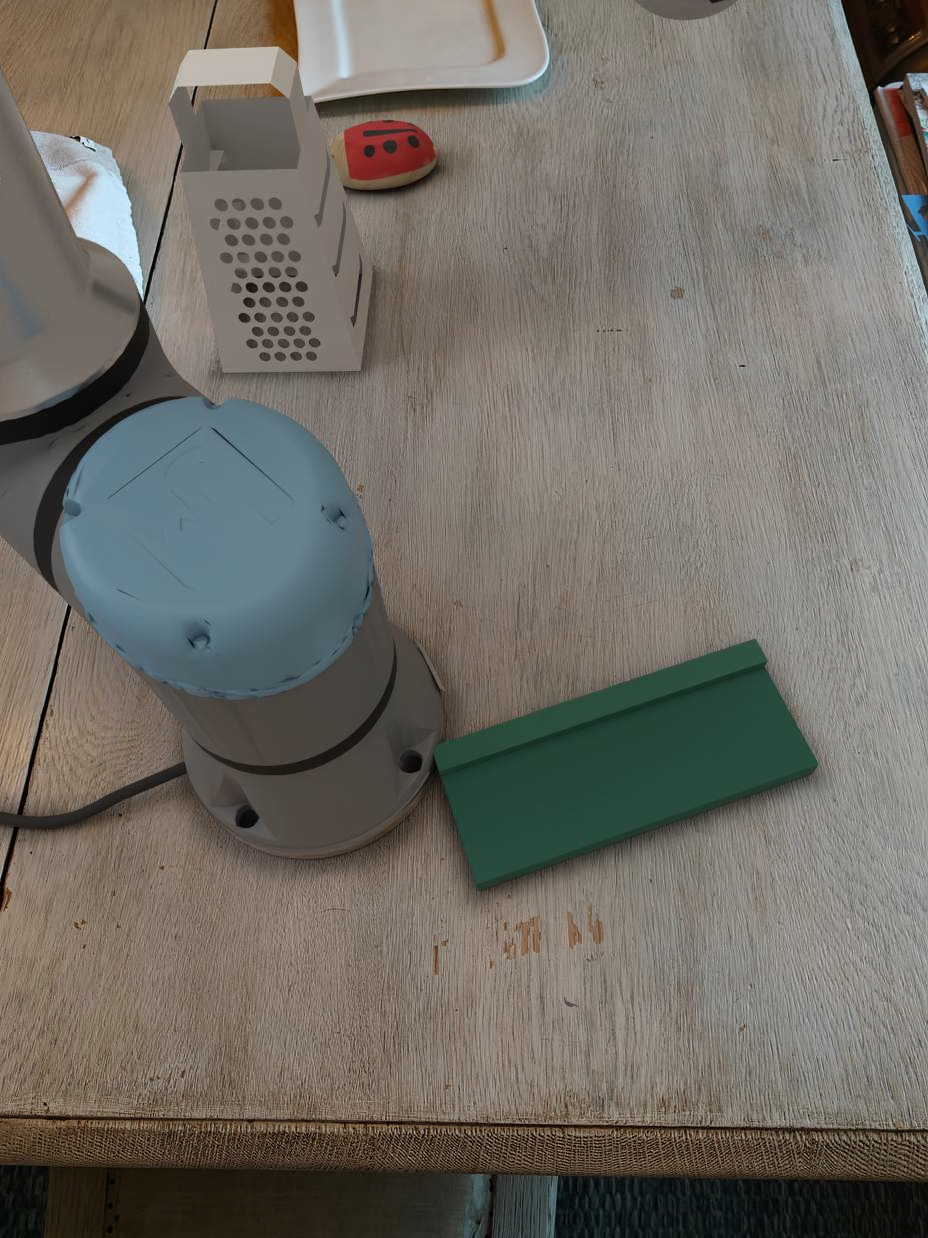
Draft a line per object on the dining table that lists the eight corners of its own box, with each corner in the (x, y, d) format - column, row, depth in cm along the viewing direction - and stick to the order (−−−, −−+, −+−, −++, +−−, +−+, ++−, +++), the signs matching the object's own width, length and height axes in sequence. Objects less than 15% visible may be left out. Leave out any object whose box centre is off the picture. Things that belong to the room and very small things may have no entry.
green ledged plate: (478, 891, 52) (476, 881, 50) (434, 760, 56) (430, 746, 54) (812, 773, 54) (823, 759, 52) (747, 655, 58) (755, 637, 56)
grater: (360, 370, 71) (304, 117, 54) (222, 372, 72) (124, 124, 55) (372, 272, 76) (325, 12, 59) (244, 275, 77) (159, 19, 60)
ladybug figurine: (325, 153, 84) (317, 115, 81) (436, 138, 84) (433, 99, 81) (329, 202, 81) (321, 164, 78) (444, 187, 81) (441, 149, 78)
